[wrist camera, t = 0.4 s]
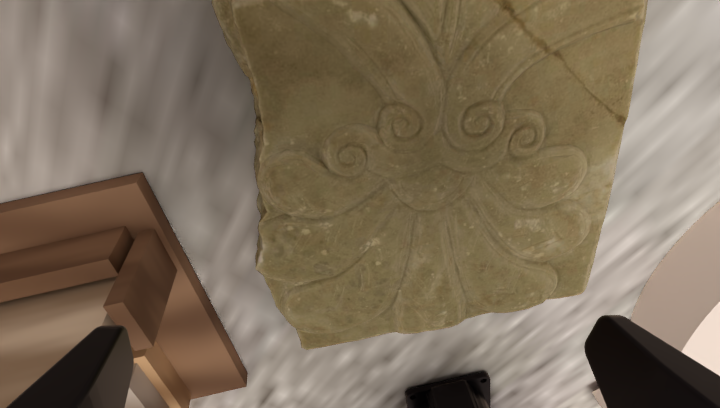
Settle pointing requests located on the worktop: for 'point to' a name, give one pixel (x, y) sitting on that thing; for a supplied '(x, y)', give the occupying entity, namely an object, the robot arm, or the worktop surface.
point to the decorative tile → (430, 153)
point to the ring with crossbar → (686, 295)
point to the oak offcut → (163, 376)
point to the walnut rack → (120, 272)
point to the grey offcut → (143, 392)
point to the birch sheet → (46, 331)
